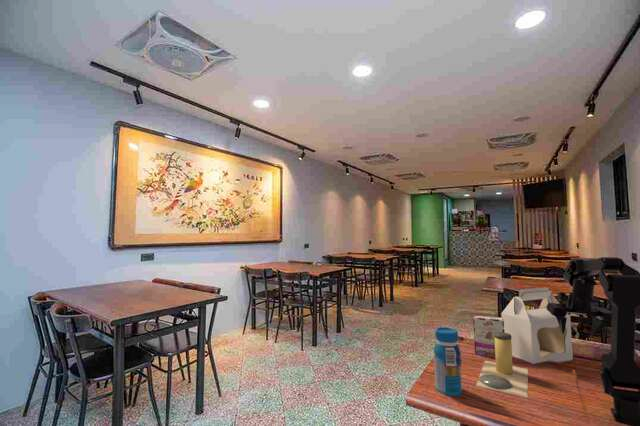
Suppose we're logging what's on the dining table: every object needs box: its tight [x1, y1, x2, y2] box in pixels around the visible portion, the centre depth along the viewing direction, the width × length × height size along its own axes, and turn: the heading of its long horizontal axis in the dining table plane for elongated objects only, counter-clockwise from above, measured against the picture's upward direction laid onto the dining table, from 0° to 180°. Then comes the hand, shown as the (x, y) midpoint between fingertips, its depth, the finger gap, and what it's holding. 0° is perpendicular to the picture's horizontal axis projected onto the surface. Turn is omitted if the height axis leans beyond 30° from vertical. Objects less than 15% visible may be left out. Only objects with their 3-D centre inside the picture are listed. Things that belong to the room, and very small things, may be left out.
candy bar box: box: [472, 314, 504, 359], centre depth 129 cm, size 11×5×16 cm, turn 62°
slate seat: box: [479, 374, 511, 389], centre depth 105 cm, size 9×9×1 cm
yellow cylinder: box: [494, 332, 514, 375], centre depth 113 cm, size 5×5×13 cm
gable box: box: [501, 286, 574, 365], centre depth 130 cm, size 22×13×28 cm, turn 108°
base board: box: [475, 360, 529, 399], centre depth 109 cm, size 24×14×2 cm, turn 146°
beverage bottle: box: [433, 326, 463, 397], centre depth 101 cm, size 8×8×20 cm
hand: (577, 334), depth 113 cm, fingers open, 9 cm apart
